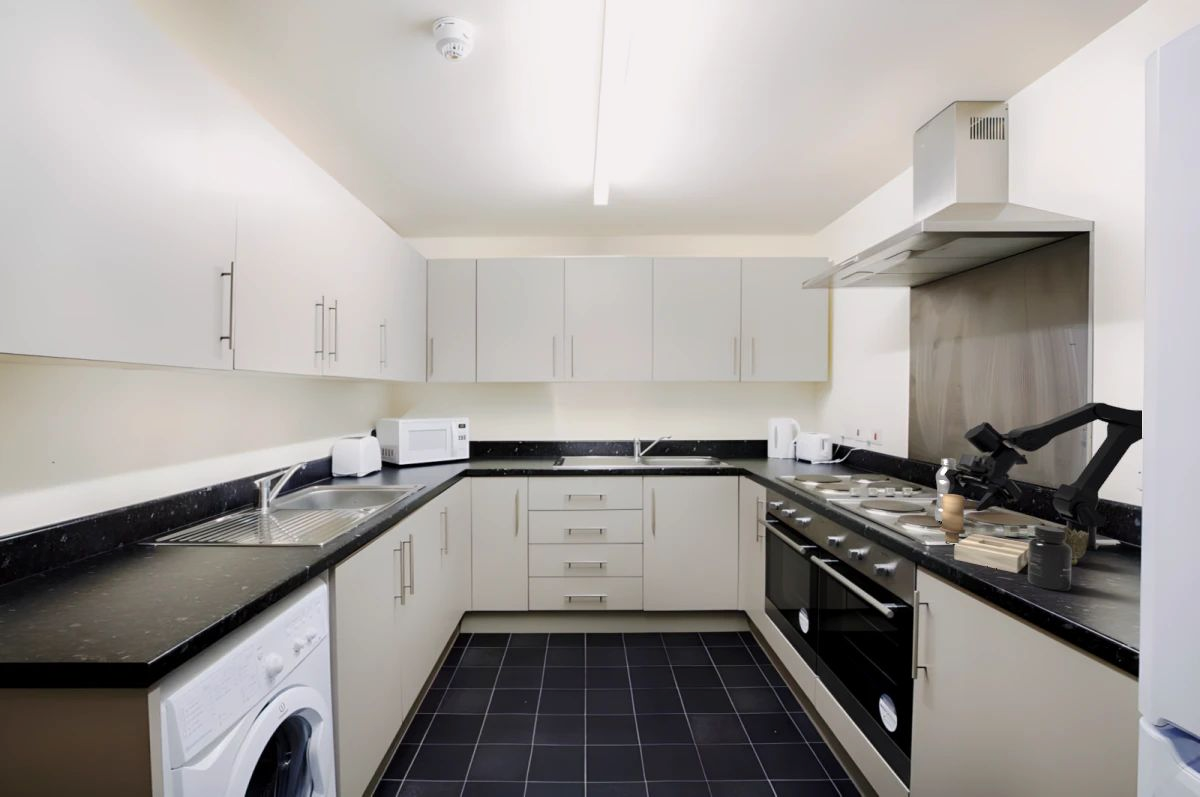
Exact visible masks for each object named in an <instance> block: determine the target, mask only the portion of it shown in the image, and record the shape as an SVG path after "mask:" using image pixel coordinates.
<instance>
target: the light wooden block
mask: <svg viewBox="0 0 1200 797" xmlns="http://www.w3.org/2000/svg"><path fill="white" fill-rule="evenodd" d="M953 546H954V550H953V551H954V553H953V554H954V555H953V558H954V560H956V561H961V562H965V563H969V564H974V565H979V566H982V567H983V566H984V567H987V566H988V567H987V568H993V569H996V568H997V569H996V570H1001V571H1006V572H1010V573H1015V574H1018V573H1019V572H1020V571H1021V570H1023V568H1024V567H1025V566H1027V565H1028V554H1029V542H1028V543H1027V542H1022V541H1017V540H1012V539H1006V538H1002V537H1001V538H1000V537H996V536H990V535H986V534H985V535H983V534H979V533H974V532H973V533H971V534H970V535H969V536H967V537H965V538H963V539H962V540H959V542H958V543H957V544H955V545H953Z"/></svg>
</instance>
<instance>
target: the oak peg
mask: <svg viewBox="0 0 1200 797" xmlns="http://www.w3.org/2000/svg"><path fill="white" fill-rule="evenodd" d="M964 510H965V497H964V496H963V495H961V496H960V495H954V494H942V523H941V526H939V530H940V531H941V532H942V533H943V532H944V535H945V540H944V542H945V541H946V542H949V543H958V542H960V535H963V534H966V529H964V518H965V517H964V516H965V513H964V512H965V511H964Z"/></svg>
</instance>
